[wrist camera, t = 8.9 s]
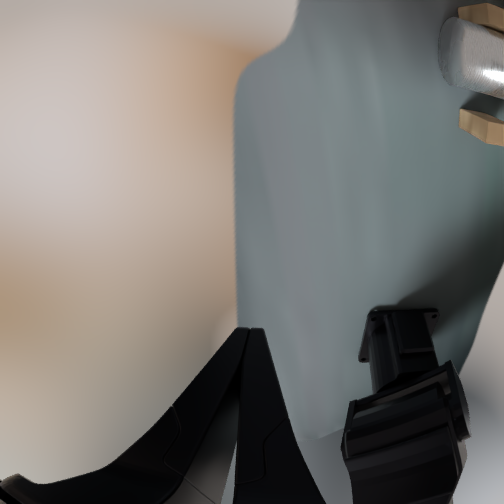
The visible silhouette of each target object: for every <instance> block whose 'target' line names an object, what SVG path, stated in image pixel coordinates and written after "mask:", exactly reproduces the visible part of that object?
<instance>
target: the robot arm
mask: <svg viewBox="0 0 504 504" xmlns="http://www.w3.org/2000/svg"><path fill="white" fill-rule="evenodd" d="M439 315H440V314H439V312H438V310H437V309H422V310H398V311H373V312H370V313H369V314H368V316H367V320H366V325H365V329H364V334H363V338H362V343H361V347H360V351H359V355H358V360H359V362H362V363H365V362H369V363H370V371H371V380H372V390H373V395H370V396H367V397H365V398H362V399H359V400H353V401H350V403H349V408H348V413H347V418H346V423H345V428H344V433H343V437H342V443H341V451H342V456H343V460H344V462H345V465H346V467H347V469H348V472H349V475H350V479H351V486H352V495H353V504H453V498H452V497H453V493H454V491H455V489H456V486H457V484H458V481H459V479H460V476H461V473H462V471H463V468H464V465H465V462H466V459H467V451H466V446H465V441H464V440H465V439H468V438H470V437H471V426H470V417H469V408H468V403H467V400H466V396H465V393H464V389H463V386H462V383H461V380H460V378H459V376H458V374H457V372H456V369H455V367H454V365H453V363H452V361H451V360H449V361H447V362H445V364H444V365H442V366H439V364H438V360H437V357H436V353H435V350H434V345H433V341H432V338H431V335H432V333H433V330H434V328H435V326H436V323H437V321H438V318H439ZM372 317H374V318H372ZM236 442H237V450H236V466H235V487H234V498H233V504H326V502H325V501H324V499H323V497H322V495H321V493H320V491H319V489H318V487H317V485H316V483H315V481H314V479H313V477H312V475H311V473H310V471H309V469H308V467H307V465H306V463H305V461H304V458H303V456H302V454H301V451H300V449H299V447H298V444H297V442H296V439H295V436H294V433H293V430H292V426H291V423H290V419H289V416H288V413H287V409H286V406H285V402H284V399H283V395H282V392H281V388H280V384H279V381H278V377H277V374H276V370H275V367H274V363H273V360H272V356H271V352H270V349H269V345H268V342H267V338H266V335H265V331H264V329H263V328H251V329H250V328H248V327H237V328H236V329H235V330H234V331H233V332H232V333H231V335H230V336H229V337H228V338H227V340H226V341H225V342H224V343H223V345H222V346H221V347H220V348H219V349H218V351H217V352H216V353H215V354H214V355H213V357H212V358H211V359H210V360H209V361H208V363H207V364H206V365H205V366H204V368H203V369H202V370H201V371H200V372H199V374H198V375H197V376H196V377H195V378H194V380H193V381H192V382H191V383H190V384H189V385H188V387H187V388H186V389H185V390H184V391H183V393H182V394H181V395H180V396H179V397H178V398H177V399H176V401H175V402H174V403H173V404H172V406H171V407H169V409H168V410H167V411H166V412H165V413H164V415H163V416H162V417H161V418H160V419H159V420H158V421H157V422H156V423H155V424H154V425H153V426H152V427H151V428H150V429H149V430H148V431H147V432H146V433H145V434H144V435H143V436H142V437H141V438H139V439H138V440H137V441H136V442H135V443H134V444H133V445H132V446H130V447H129V448H128V449H127V450H126V451H125V452H123V453H122V454H121V455H120V456H119V457H118V458H117V459H115V460H114V461H113V462H112V463H110V464H108V465H107V466H105V467H103V468H101V469H99V470H96V471H93V472H90V473H86V474H83V475H79V476H76V477H72V478H69V479H65V480H61V481H57V482H53V483H48V484H37V483H34V482H32V481H31V480H29V479H27V478H25V477H24V476H22V475H20V474H15V475H12V476H10V477H7V478H6V479H4V480H3V481H2V480H0V504H220V503H221V500H222V496H223V492H224V488H225V485H226V481H227V477H228V473H229V469H230V466H231V461H232V458H233V454H234V449H235V446H236Z"/></svg>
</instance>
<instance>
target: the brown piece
mask: <svg viewBox="0 0 504 504" xmlns="http://www.w3.org/2000/svg"><path fill="white" fill-rule="evenodd" d="M458 15H459V18H460V19H463V20H466V21H469V22H472V23H475V24H478V25H481V26H484V27H486V28H489V29H492V30H494V31H497V32H500V33H504V9H502V8H500V7H497V6H495V5H492V4H489V3H482V4H476V5H470V6H464V7H459V8H458ZM459 127H460V128H462V129H463V130H465V131H467V132H468V133H470V134H472V135H474V136H475V137H477V138H478V139H480V140H482V141H483V142H485V143H488V144H494V145H500V146H504V122H503V121H501V120H499V119H497V118H495V117H493V116H490V115H488V114H486V113H482V112H477V111H472V110H466V109H460V116H459Z"/></svg>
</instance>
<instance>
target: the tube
mask: <svg viewBox="0 0 504 504" xmlns="http://www.w3.org/2000/svg"><path fill="white" fill-rule="evenodd" d="M438 58H439V65H440V69H441V73H442V75H443V77H444V79H445V81H446V82H447V83H448V84H449V85H452V86H456V87H460V88H464V89H468V90H472V91H476V92H480V93H483V94H487V95H490V96H494V97H497V98H500V99H504V34H502V33H500V32H497V31H494V30H492V29H489V28H486V27H484V26H481V25H478V24H475V23H472V22H469V21H466V20H463V19H460V18H457V17H450V18H448V19H447V20H446V21H445V23H444V24H443V26H442V29H441V32H440V36H439V43H438Z"/></svg>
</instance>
